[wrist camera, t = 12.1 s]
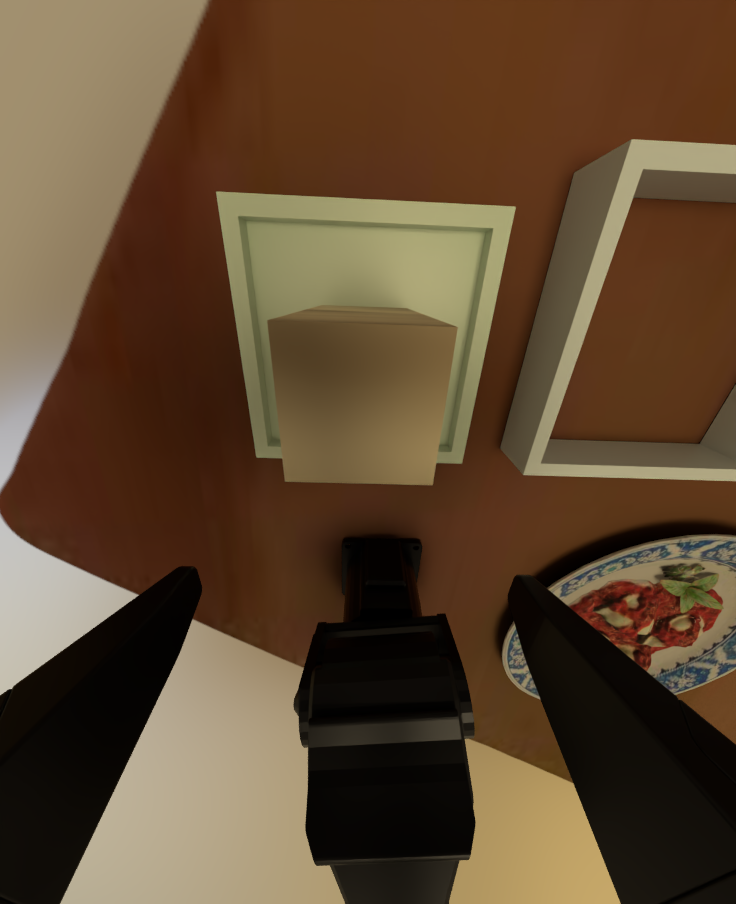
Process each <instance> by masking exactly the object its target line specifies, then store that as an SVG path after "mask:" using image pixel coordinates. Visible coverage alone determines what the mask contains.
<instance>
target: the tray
mask: <svg viewBox="0 0 736 904" xmlns="http://www.w3.org/2000/svg"><path fill="white" fill-rule="evenodd" d="M216 195H217V201H218V208H219V214H220V221H221V228H222V234H223V241H224V247H225V254H226V261H227V267H228V274H229V280H230V287H231V294H232V300H233V307H234V313H235V320H236V327H237V333H238V340H239V346H240V353H241V360H242V366H243V373H244V379H245V386H246V393H247V399H248V406H249V412H250V419H251V425H252V432H253V439H254V445H255V452H256V458H282V451H281V442H280V433H279V424H278V414H277V405H276V396H275V387H274V378H273V369H272V360H271V351H270V342H269V333H268V324H267V320H270V319H273V318H277V317H281V316H284V315H288V314H291V313H295V312H298V311H302V310H306V309H309V308H313V307H316V306H320V305H335V306H362V307H389V308H408V309H411V310H413V311H416V312H419V313H421V314H424V315H427V316H429V317H432V318H435V319H437V320H440V321H443V322H445V323H448V324H451V325H454V326H456V327H458V329H457V336H456V342H455V348H454V355H453V361H452V367H451V373H450V380H449V386H448V392H447V399H446V405H445V411H444V417H443V424H442V430H441V436H440V443H439V449H438V455H437V461H436V463H457V464H462V461H463V456H464V451H465V447H466V442H467V437H468V432H469V428H470V423H471V418H472V413H473V408H474V404H475V399H476V394H477V389H478V385H479V380H480V375H481V370H482V365H483V361H484V356H485V351H486V346H487V342H488V337H489V332H490V327H491V322H492V318H493V313H494V308H495V303H496V299H497V294H498V289H499V284H500V279H501V275H502V270H503V265H504V260H505V256H506V251H507V246H508V241H509V236H510V232H511V227H512V222H513V217H514V213H515V208H516V207H513V206H493V205H473V204H453V203H433V202H413V201H393V200H373V199H353V198H333V197H313V196H293V195H273V194H254V193H234V192H216Z"/></svg>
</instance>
